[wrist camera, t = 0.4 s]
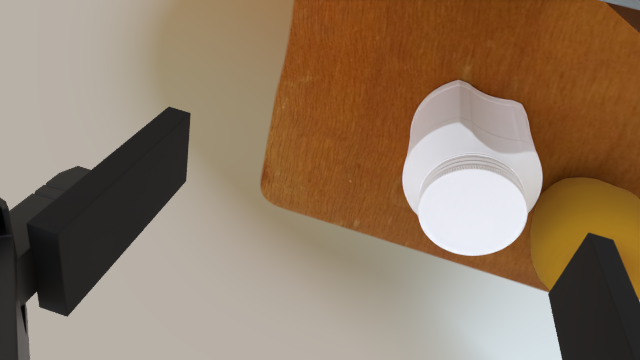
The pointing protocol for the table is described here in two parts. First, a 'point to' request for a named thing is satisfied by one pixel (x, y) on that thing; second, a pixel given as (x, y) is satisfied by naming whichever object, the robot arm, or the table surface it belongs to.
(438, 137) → the jar
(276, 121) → the table surface
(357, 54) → the table surface
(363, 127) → the table surface
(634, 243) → the apple
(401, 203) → the table surface
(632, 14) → the window frame
